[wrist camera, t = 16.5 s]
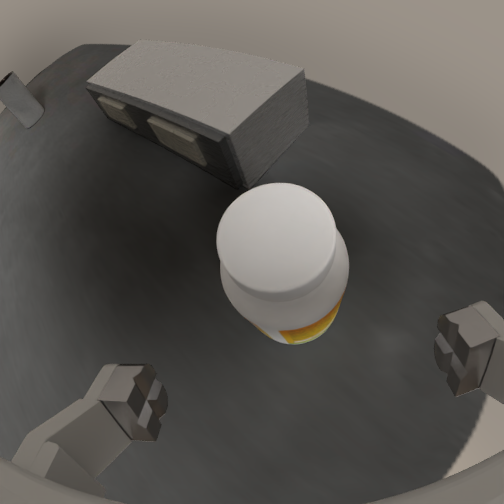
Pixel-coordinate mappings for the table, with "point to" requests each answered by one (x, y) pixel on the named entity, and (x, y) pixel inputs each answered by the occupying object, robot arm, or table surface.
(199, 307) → the table surface
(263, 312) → the supplement bottle
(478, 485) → the robot arm
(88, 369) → the table surface
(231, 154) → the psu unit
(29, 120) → the planter
